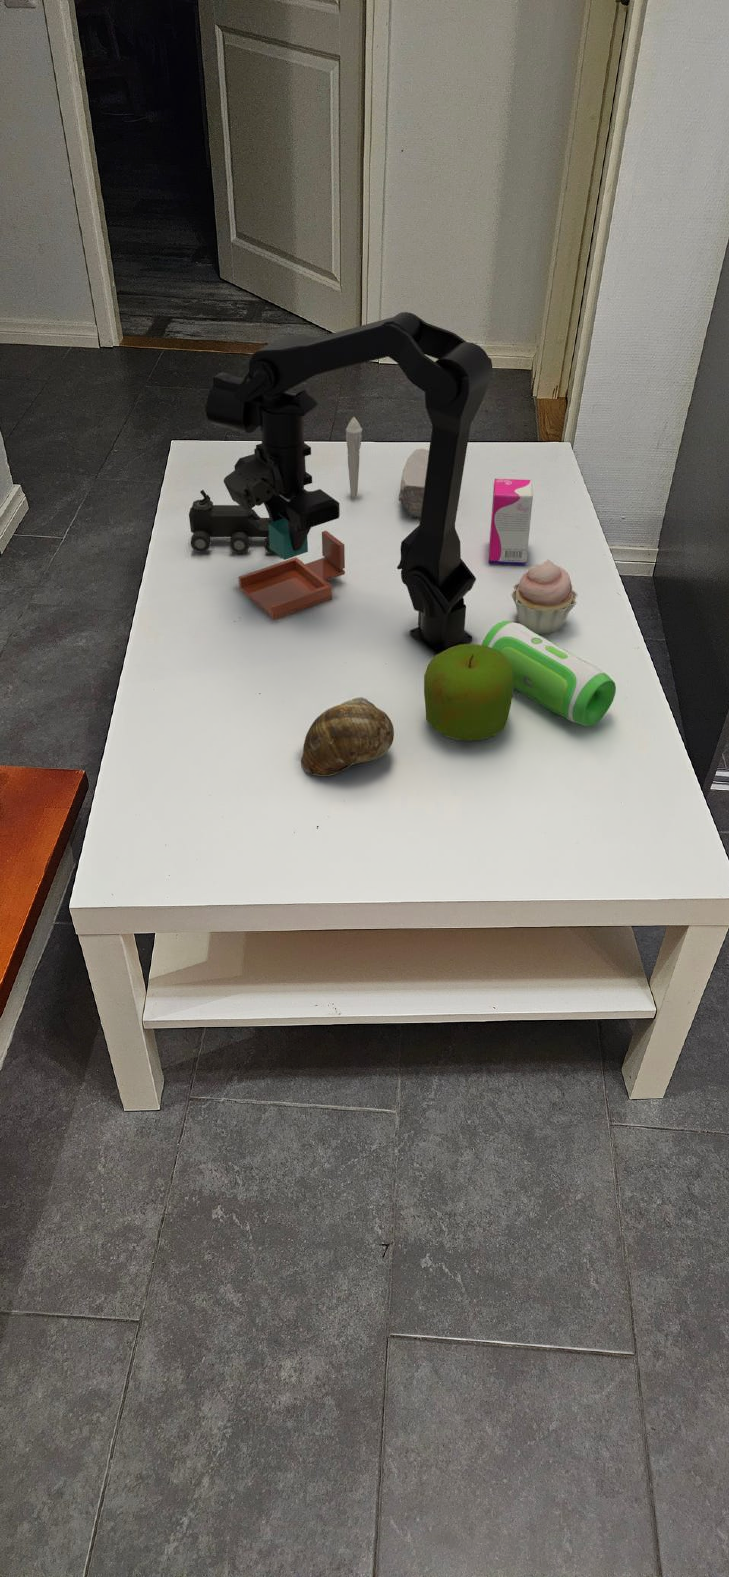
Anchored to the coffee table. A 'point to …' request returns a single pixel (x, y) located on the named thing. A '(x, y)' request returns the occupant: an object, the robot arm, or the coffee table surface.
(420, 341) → the robot arm
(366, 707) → the seashell
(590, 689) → the speaker
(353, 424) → the grey pointed rod
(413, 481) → the decorative stone
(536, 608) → the cupcake
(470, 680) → the apple
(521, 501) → the supplement box
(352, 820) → the coffee table surface
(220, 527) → the toy vehicle
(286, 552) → the block
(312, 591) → the orange handled tray
